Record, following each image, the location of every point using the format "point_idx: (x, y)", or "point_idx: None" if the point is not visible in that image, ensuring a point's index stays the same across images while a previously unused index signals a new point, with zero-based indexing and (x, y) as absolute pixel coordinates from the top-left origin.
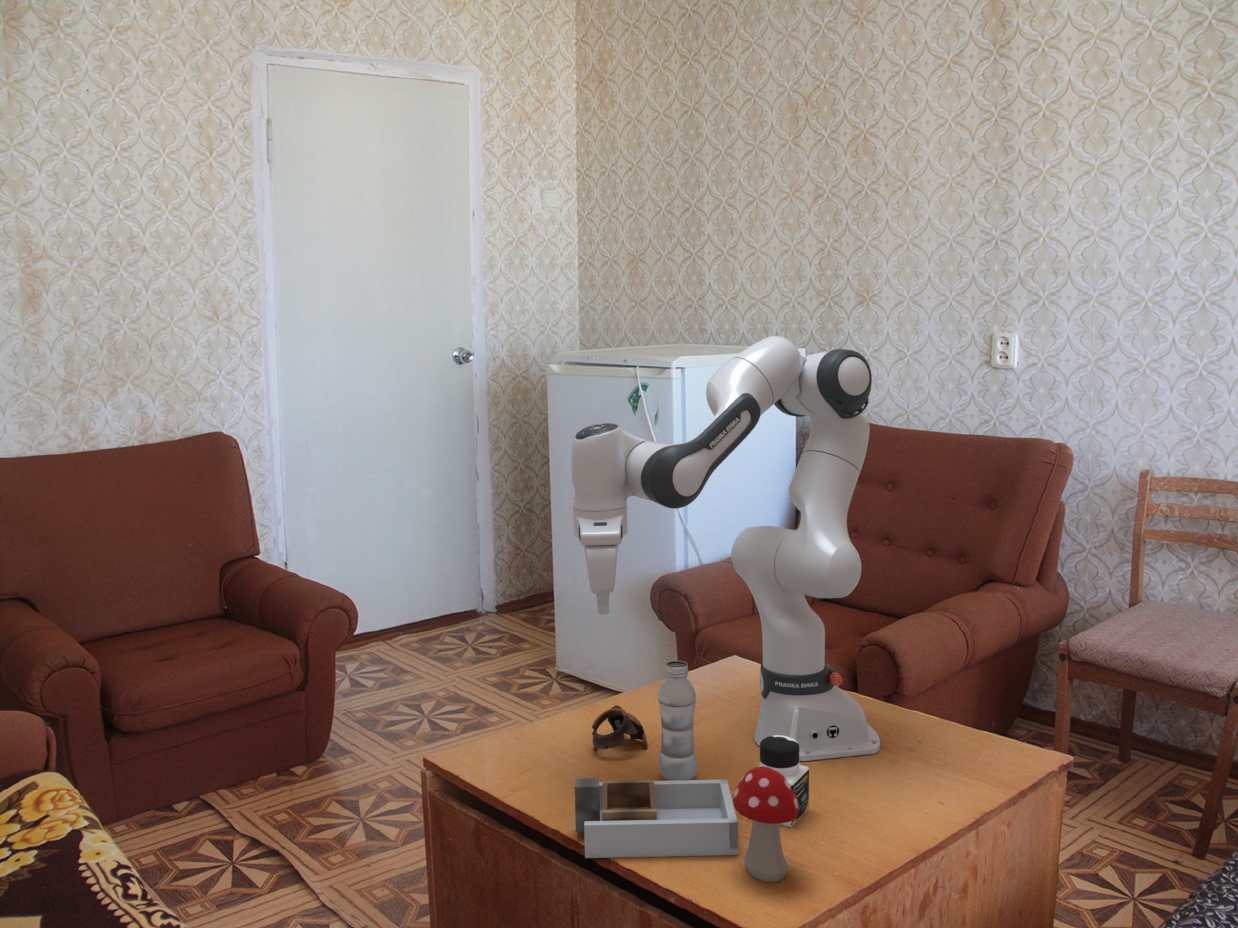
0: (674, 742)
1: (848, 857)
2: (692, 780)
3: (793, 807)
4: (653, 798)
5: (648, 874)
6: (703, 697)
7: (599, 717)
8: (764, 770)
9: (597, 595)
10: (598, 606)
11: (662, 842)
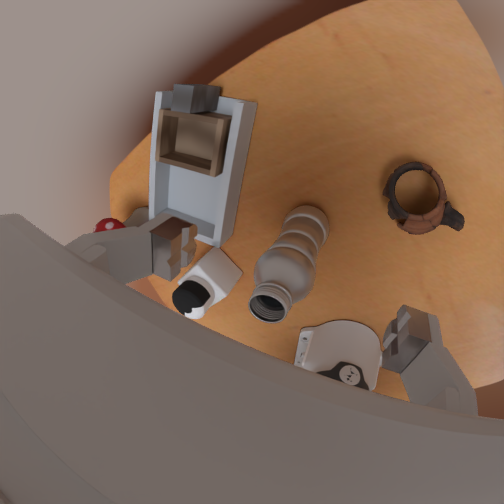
0: (280, 233)
1: None
2: (223, 217)
3: None
4: (177, 164)
5: (149, 137)
6: (473, 330)
7: (439, 186)
8: None
9: (82, 239)
10: (144, 225)
11: None
